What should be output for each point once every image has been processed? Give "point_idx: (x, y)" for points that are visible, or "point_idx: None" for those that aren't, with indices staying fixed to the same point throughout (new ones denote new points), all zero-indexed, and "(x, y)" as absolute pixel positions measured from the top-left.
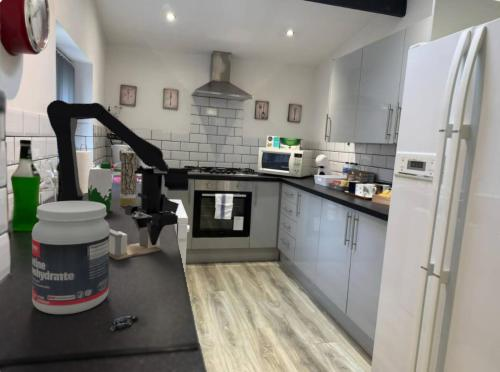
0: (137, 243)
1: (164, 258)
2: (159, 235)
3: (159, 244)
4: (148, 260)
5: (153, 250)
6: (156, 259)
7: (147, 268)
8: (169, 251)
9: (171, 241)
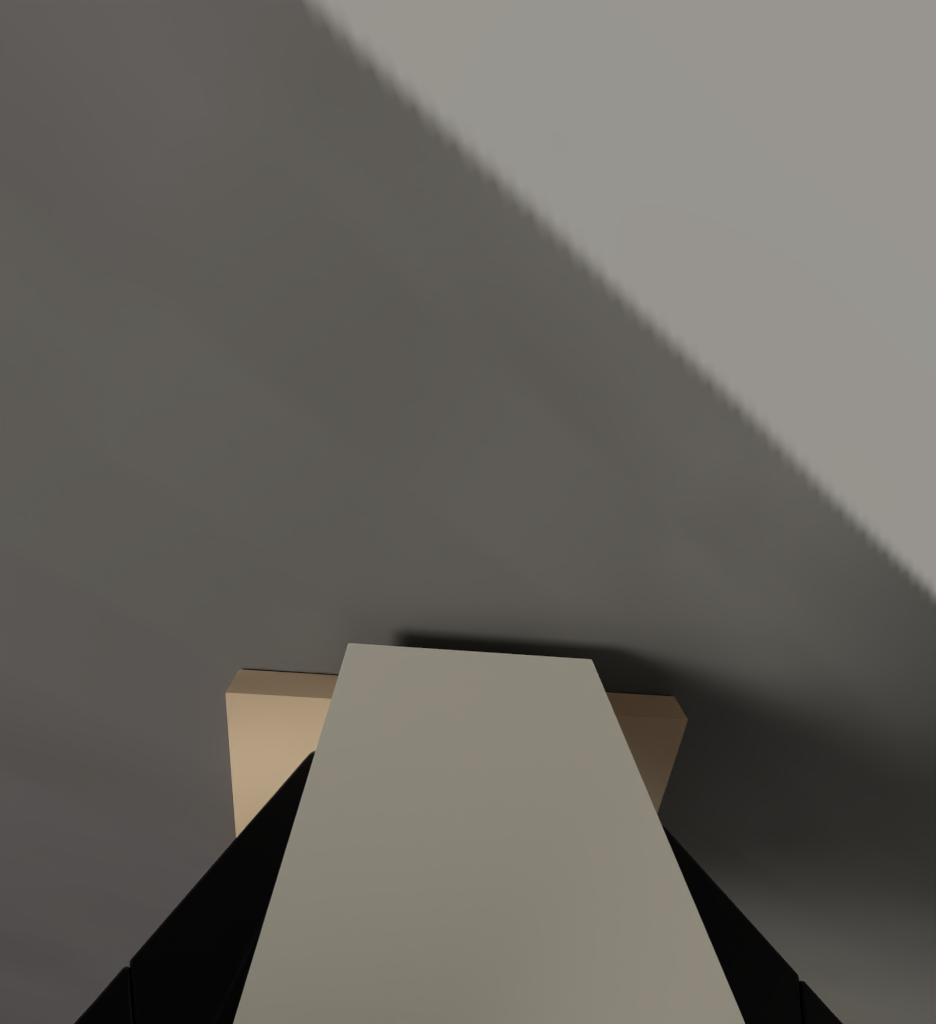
0: (245, 802)
1: (921, 814)
2: (662, 843)
3: (597, 675)
4: (806, 934)
5: (656, 797)
6: (859, 878)
7: (930, 1015)
8: (814, 626)
9: (407, 167)
